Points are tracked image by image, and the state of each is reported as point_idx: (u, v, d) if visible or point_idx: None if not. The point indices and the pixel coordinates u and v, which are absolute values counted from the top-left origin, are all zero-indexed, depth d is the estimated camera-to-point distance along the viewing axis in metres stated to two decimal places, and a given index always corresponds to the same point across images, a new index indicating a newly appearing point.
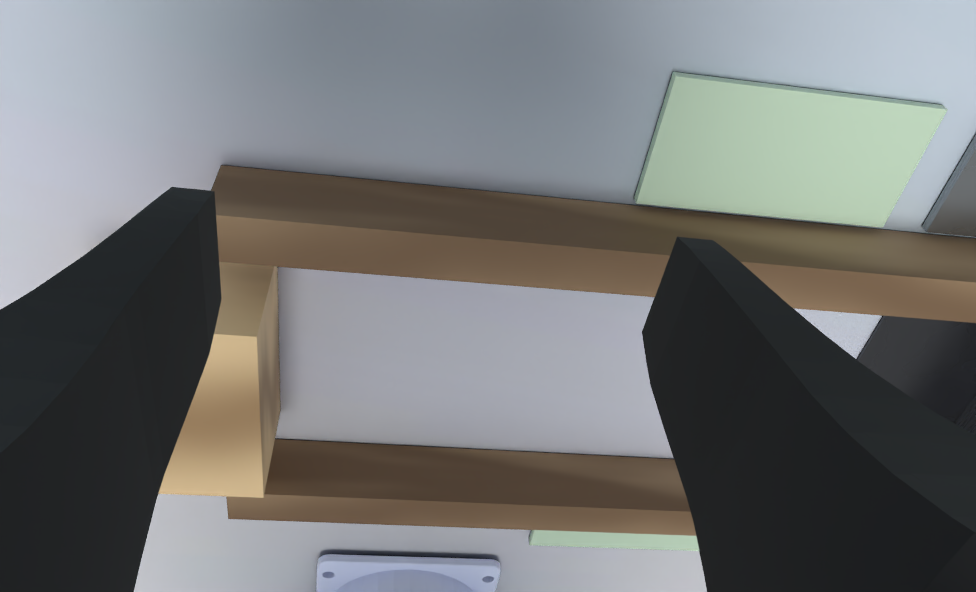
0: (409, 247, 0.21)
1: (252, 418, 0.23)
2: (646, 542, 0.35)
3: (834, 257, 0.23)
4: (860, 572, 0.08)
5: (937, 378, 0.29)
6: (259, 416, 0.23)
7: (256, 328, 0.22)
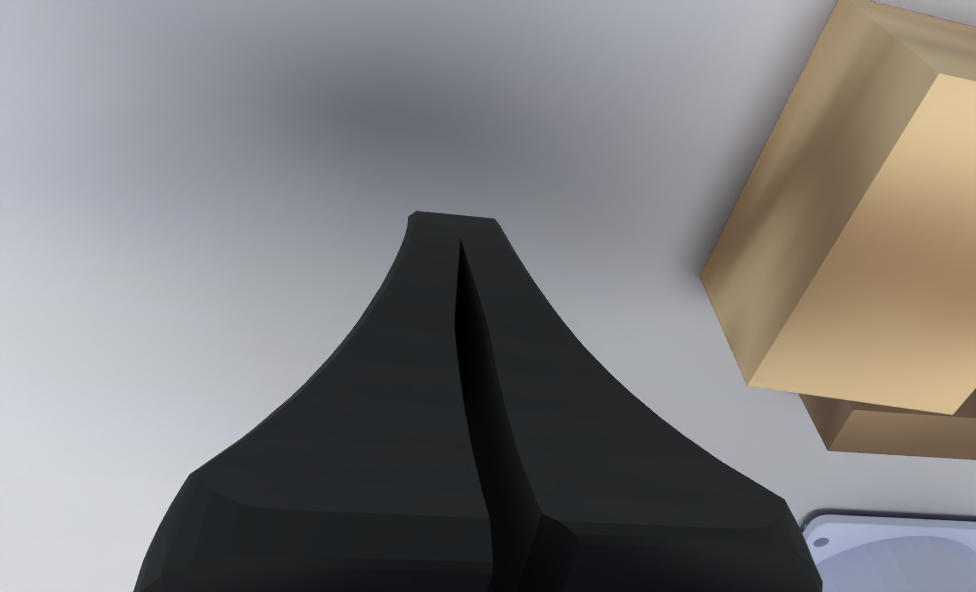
0: None
1: None
2: None
3: None
4: (501, 561, 0.07)
5: None
6: None
7: None
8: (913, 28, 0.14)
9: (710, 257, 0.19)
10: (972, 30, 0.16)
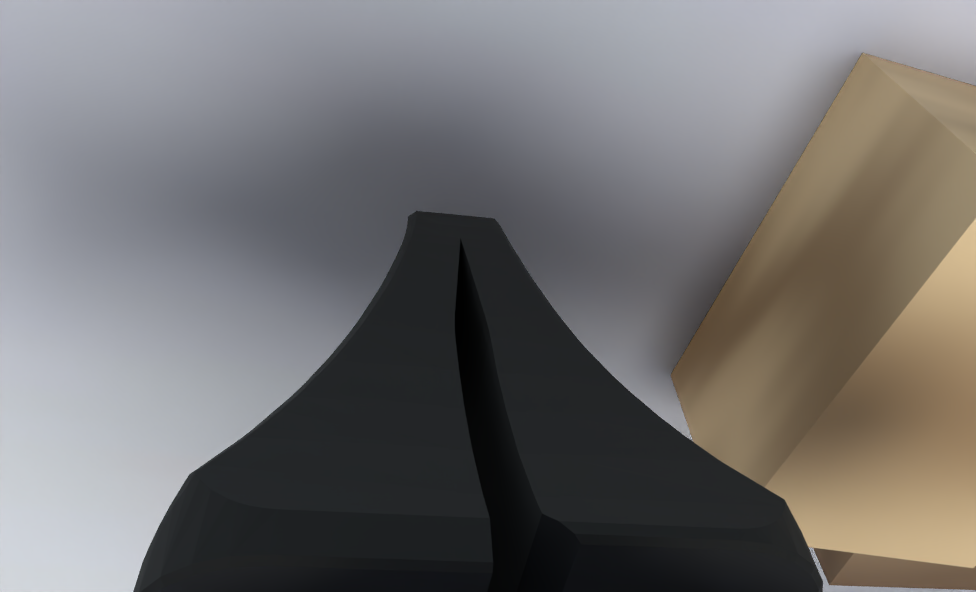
0: None
1: None
2: None
3: None
4: (502, 559, 0.07)
5: None
6: None
7: None
8: (956, 104, 0.11)
9: (684, 355, 0.16)
10: None
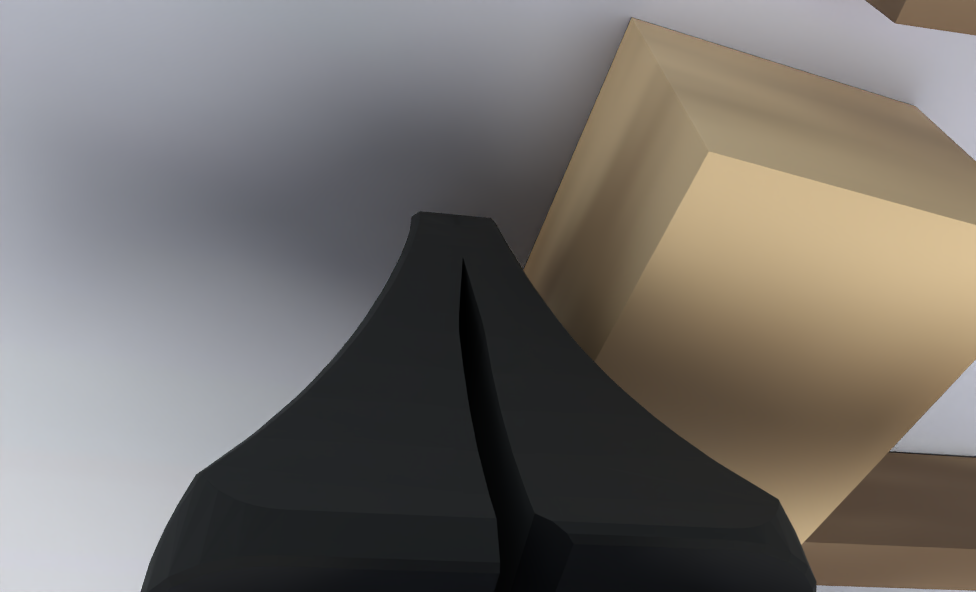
0: None
1: (896, 427, 0.11)
2: None
3: None
4: None
5: None
6: (910, 424, 0.11)
7: None
8: (715, 77, 0.10)
9: None
10: (808, 83, 0.12)
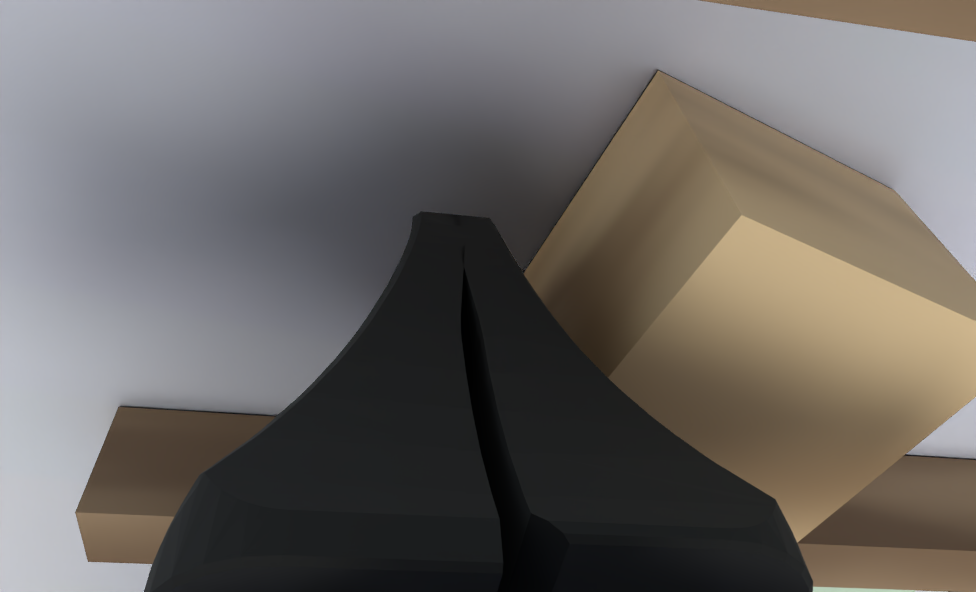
0: None
1: (851, 487, 0.12)
2: None
3: None
4: None
5: None
6: (863, 485, 0.12)
7: None
8: (735, 140, 0.11)
9: None
10: (809, 156, 0.12)
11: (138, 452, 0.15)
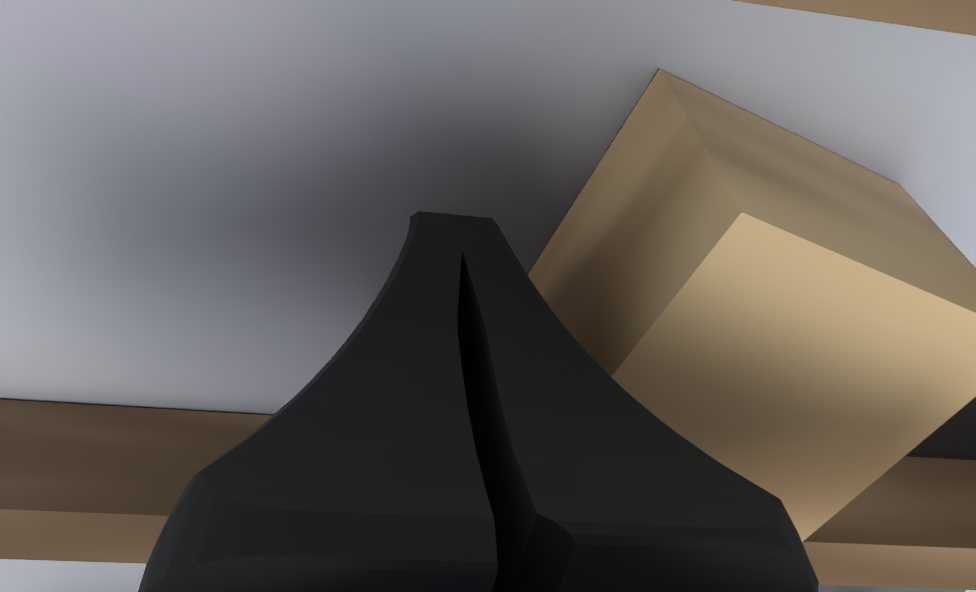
0: None
1: (858, 482, 0.12)
2: None
3: None
4: (498, 561, 0.07)
5: None
6: (871, 480, 0.12)
7: None
8: (736, 137, 0.11)
9: None
10: (812, 152, 0.12)
11: None
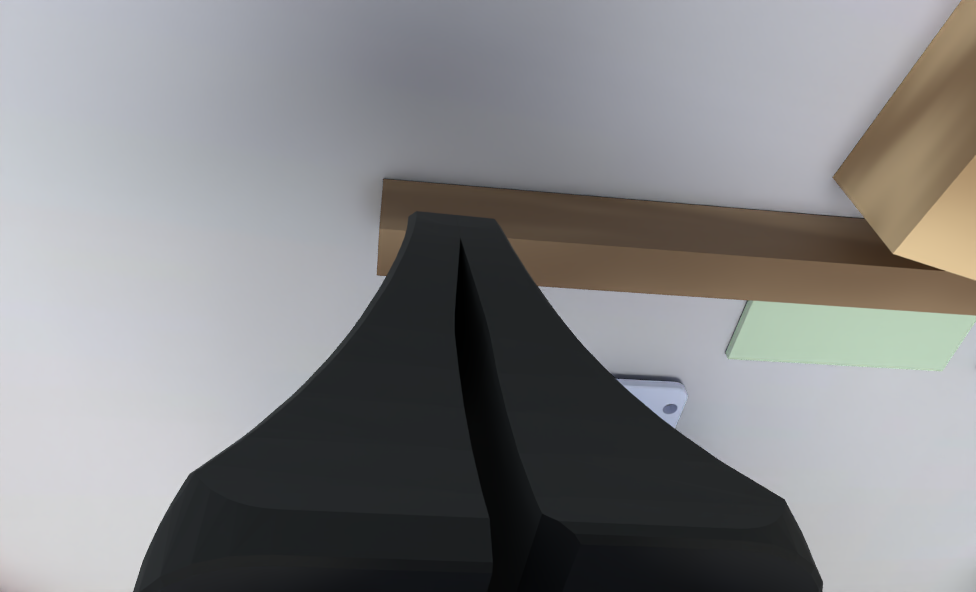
0: None
1: None
2: (873, 356, 0.27)
3: None
4: (502, 560, 0.07)
5: None
6: None
7: None
8: None
9: (846, 160, 0.23)
10: None
11: (406, 201, 0.21)
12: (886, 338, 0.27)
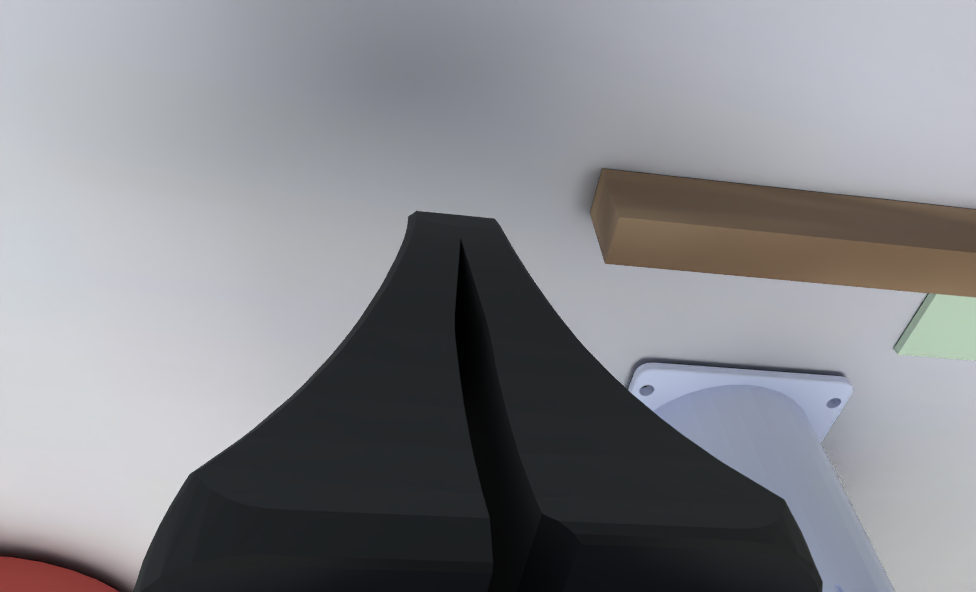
0: None
1: None
2: None
3: None
4: (501, 561, 0.07)
5: None
6: None
7: None
8: None
9: None
10: None
11: (633, 191, 0.22)
12: None
